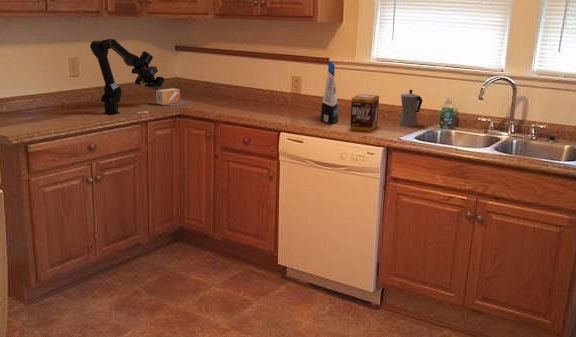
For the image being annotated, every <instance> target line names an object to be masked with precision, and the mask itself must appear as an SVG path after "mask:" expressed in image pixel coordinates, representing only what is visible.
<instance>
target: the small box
mask: <svg viewBox="0 0 576 337" xmlns="http://www.w3.org/2000/svg"><path fill="white" fill-rule="evenodd" d="M180 90H181V89H180V88H167V89H166V88H165V89H158V91H156V90H155V100H156V103H157V104H156V105H158V104H161V105H160V106H166V105H165V104H172V103H180V101H181V91H180Z"/></svg>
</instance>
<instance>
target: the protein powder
mask: <svg viewBox="0 0 576 337" xmlns="http://www.w3.org/2000/svg"><path fill="white" fill-rule="evenodd" d="M327 63H328V66H327V70H328V71H327V77H326V80H325V81H326V82H325V87H324V94H323V98H322V102H321V108H320V109H321V112H320V121H321V122H322V123H325V124H329V125H335V124H337V123H339V110H338V96H337V84H336V80H335V71H336V70H335V67H336V64H334V63H332V61H330V60H328V62H327Z"/></svg>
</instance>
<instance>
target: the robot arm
mask: <svg viewBox="0 0 576 337" xmlns="http://www.w3.org/2000/svg"><path fill="white" fill-rule="evenodd" d="M89 46H90V47H89V48H90V49H91V52H92V54H93V55H94V56H95V58H96V59H97V61H98V65H99V68H100V70H101V74H102V77H103V80H104V86H103V87H104V88H103V90H104V93H103V94H102V96H101V97H100V100H101V102H102V103H104V111H103V112H102V114H103V115H104V114H105V115H116V114H118V115H119V114H120V113H121V112H120V111H119V105H118V103H120V101H121V98H122V97H121V96H122V89H121V85H120V83H116V82H115V79H114V75H113V72H112V69H111V66H110V62H109V59H108V55H109V50H110V49H111V50H112V51H113V52H115V54H117V55H119V56H120V58H122V60H123V62H124V64H125V65H127V66H128V67H132V68H131V74H132V75H133V74H135V75H136V74H137V77H136V78H135V80H134V84H135V85H136V86H141V84H143V85H144V87H147V88H149V89H151V90H154V91H155V92H156V91H158V90H159V88H161V87H162V85H163V83H164V82H165V81H166V79H165V78H164V76H156V74H157V73H158V72H159V70H158V67H157V66H154V65H151V66H149V65H150V64H151V62H152V61H153V58H154V56H153V55H152V54H150V53H149V52H147V51H145V50H144V51H142V52H141V54H140V57H139V56H138V55H136V54H133V53H131V52H129V51H128V50H127V49H126V48H125V47H124V46H122V45H121V44H120V43H119V42H118V41H117V40H116V39H115V38H106V39H103V40H92V41H91V42H90V45H89ZM155 76H156V77H155ZM141 82H142V83H141Z"/></svg>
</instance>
